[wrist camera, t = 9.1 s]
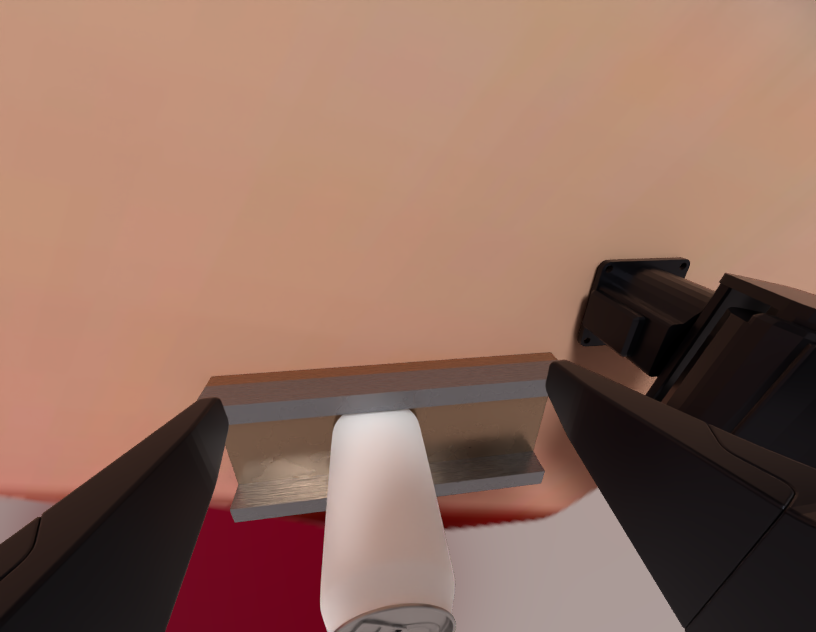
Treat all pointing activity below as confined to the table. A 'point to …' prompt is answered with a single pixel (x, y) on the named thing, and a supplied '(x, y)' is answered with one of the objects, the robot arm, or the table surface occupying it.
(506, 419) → the track
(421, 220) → the table surface
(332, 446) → the can
